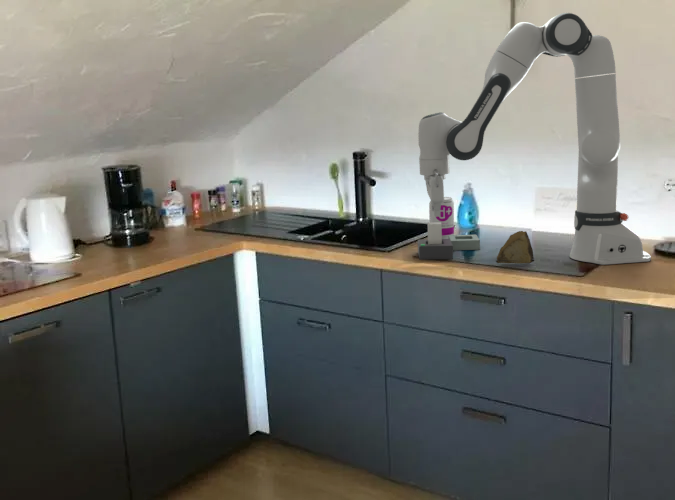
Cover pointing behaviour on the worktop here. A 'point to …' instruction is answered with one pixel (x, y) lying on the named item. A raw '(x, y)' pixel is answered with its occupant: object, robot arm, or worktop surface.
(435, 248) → the port
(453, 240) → the block
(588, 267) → the worktop surface
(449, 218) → the supplement can
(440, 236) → the plug
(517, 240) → the rock
